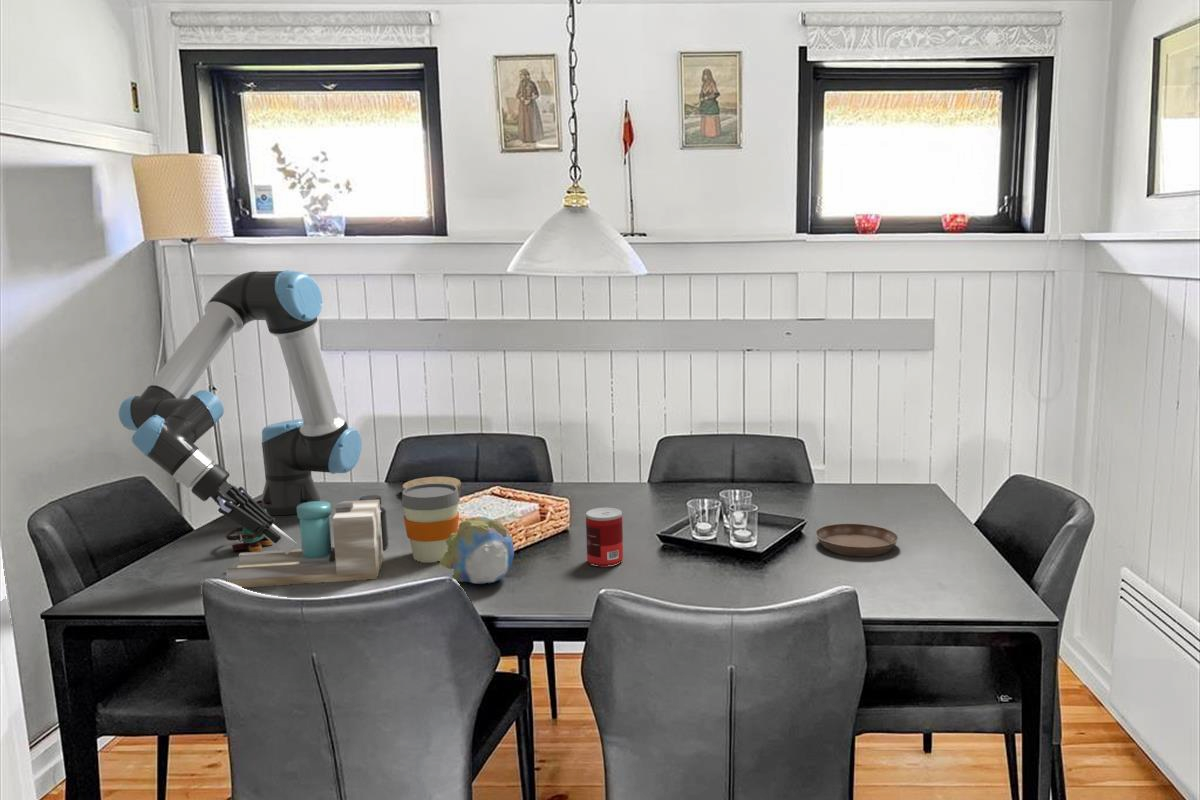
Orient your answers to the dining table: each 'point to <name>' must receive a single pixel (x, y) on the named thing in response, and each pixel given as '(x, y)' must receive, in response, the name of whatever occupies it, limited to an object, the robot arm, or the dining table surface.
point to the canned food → (604, 536)
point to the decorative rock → (479, 551)
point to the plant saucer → (856, 539)
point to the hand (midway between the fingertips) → (292, 548)
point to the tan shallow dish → (433, 480)
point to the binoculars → (248, 538)
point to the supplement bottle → (383, 519)
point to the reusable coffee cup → (430, 518)
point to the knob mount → (352, 562)
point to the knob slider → (315, 532)
